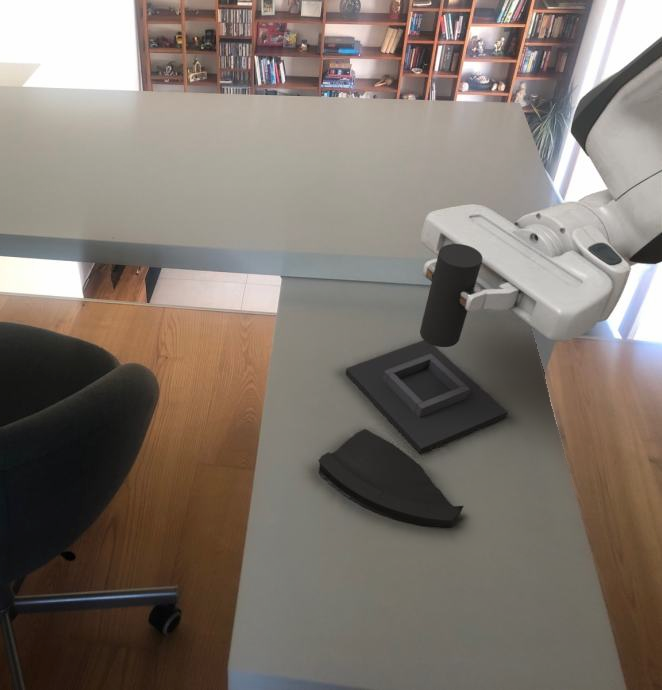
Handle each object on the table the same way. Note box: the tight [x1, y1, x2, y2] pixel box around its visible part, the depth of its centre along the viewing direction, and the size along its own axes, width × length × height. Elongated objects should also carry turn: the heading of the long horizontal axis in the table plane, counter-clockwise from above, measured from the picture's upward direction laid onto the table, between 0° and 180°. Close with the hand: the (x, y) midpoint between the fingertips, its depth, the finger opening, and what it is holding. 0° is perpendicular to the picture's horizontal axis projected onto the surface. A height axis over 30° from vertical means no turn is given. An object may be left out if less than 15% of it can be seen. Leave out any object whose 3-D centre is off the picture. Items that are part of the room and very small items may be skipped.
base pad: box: [345, 339, 508, 455], centre depth 80 cm, size 14×12×2 cm
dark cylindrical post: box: [419, 244, 482, 348], centre depth 69 cm, size 4×4×10 cm
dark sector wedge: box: [318, 428, 465, 528], centre depth 70 cm, size 8×14×2 cm, turn 41°
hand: (445, 287), depth 68 cm, fingers closed on dark cylindrical post, 4 cm apart
